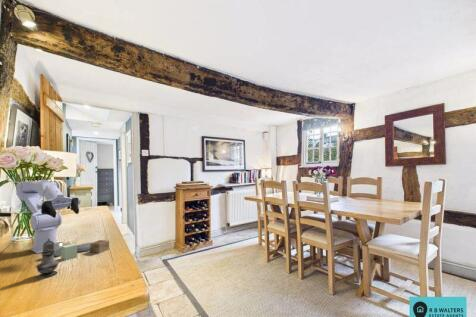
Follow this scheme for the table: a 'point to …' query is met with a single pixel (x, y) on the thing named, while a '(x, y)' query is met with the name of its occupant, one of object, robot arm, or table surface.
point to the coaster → (83, 247)
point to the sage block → (69, 251)
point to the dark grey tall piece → (47, 261)
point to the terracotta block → (66, 243)
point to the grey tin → (57, 249)
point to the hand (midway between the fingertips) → (66, 213)
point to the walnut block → (99, 246)
